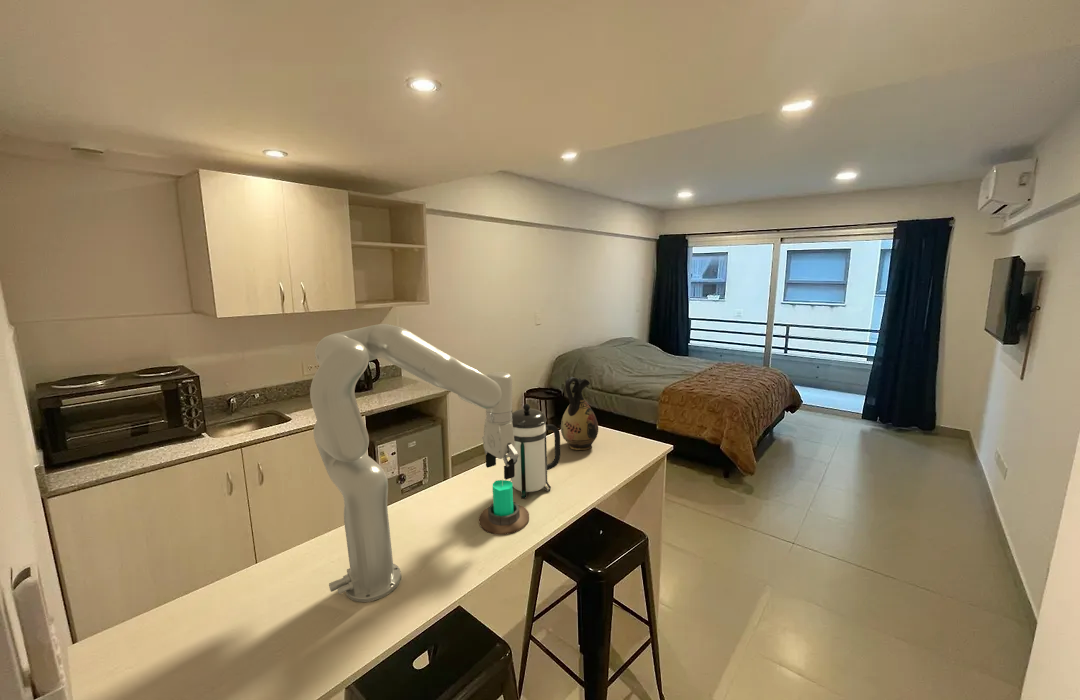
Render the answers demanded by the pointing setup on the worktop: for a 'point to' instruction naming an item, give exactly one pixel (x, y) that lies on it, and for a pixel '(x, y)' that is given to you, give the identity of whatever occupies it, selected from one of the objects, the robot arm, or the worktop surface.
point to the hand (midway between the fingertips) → (499, 471)
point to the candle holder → (504, 520)
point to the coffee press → (532, 450)
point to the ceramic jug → (578, 417)
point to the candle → (503, 498)
